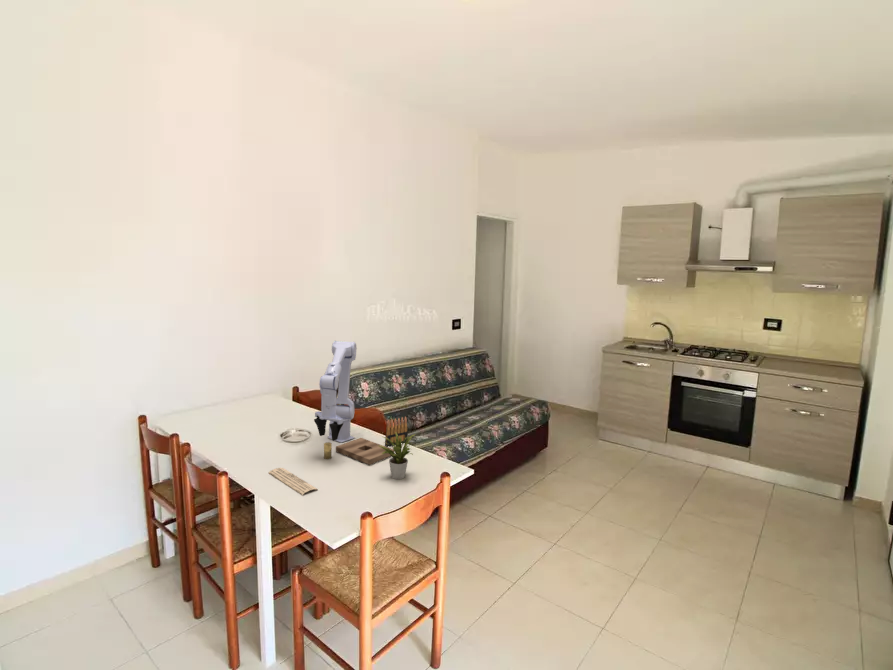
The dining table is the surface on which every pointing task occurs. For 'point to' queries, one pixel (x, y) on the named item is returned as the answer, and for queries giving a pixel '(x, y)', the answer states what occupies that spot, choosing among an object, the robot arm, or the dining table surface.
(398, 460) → the house plant
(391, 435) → the ammunition clip
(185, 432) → the dining table surface
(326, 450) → the brass peg
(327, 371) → the robot arm
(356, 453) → the walnut socket board
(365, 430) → the dining table surface
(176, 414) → the dining table surface
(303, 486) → the wooden slat
